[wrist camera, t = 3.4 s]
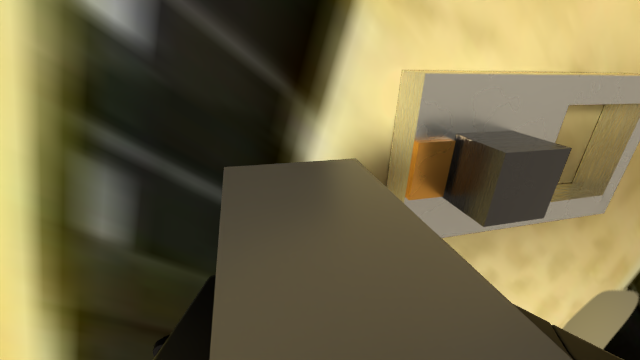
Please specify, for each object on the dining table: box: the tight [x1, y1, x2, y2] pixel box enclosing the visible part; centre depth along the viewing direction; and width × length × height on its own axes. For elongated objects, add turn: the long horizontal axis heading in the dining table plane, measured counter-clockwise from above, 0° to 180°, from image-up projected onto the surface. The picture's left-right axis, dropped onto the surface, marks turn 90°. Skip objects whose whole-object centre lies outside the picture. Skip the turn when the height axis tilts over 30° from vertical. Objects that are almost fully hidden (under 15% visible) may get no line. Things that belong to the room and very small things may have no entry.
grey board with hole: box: [386, 70, 640, 238], centre depth 16 cm, size 9×16×5 cm, turn 88°
